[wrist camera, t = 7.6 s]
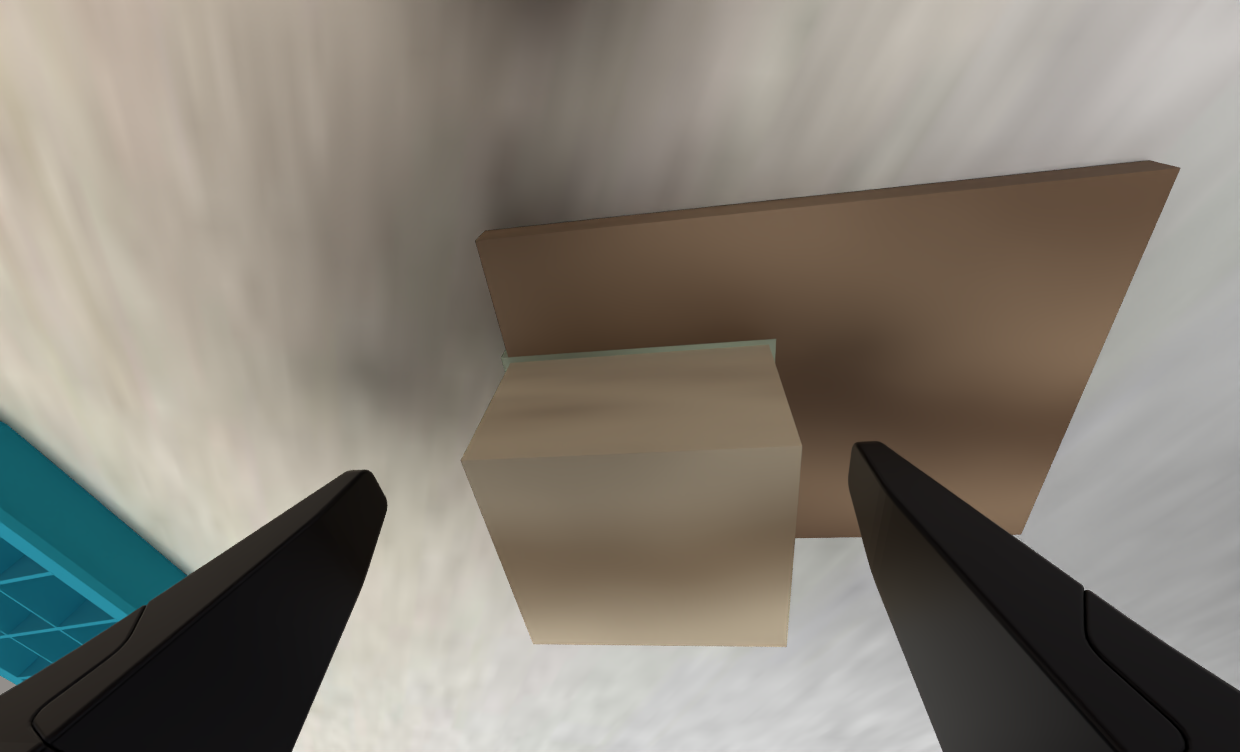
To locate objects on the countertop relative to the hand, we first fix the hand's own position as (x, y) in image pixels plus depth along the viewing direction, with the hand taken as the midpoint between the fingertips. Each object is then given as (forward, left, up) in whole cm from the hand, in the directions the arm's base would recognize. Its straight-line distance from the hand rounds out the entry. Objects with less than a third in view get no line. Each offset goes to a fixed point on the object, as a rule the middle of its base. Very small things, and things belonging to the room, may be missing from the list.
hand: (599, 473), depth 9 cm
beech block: (-4, 0, -5) cm, 6 cm away
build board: (-2, -4, -6) cm, 8 cm away
